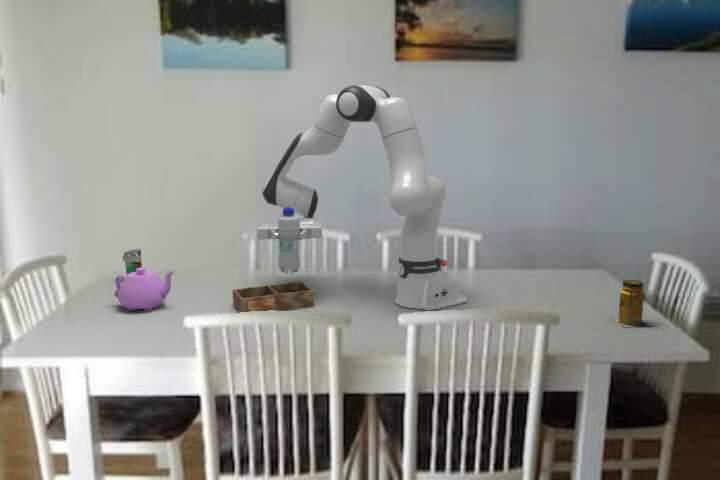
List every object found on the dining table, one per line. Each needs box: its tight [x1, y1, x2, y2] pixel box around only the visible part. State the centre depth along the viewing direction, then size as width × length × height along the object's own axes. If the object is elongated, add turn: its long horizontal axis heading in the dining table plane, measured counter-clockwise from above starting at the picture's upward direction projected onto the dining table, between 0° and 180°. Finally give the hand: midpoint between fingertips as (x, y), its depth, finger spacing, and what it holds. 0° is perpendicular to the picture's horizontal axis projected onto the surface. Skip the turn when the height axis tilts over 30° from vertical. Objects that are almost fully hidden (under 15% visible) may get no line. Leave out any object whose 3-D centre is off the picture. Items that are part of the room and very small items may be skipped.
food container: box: [121, 248, 143, 275], centre depth 231 cm, size 12×6×10 cm, turn 17°
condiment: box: [613, 279, 654, 328], centre depth 183 cm, size 7×8×12 cm
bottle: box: [277, 207, 300, 274], centre depth 200 cm, size 7×7×20 cm
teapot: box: [114, 267, 176, 312], centre depth 200 cm, size 20×14×12 cm
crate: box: [232, 281, 315, 313], centre depth 201 cm, size 22×12×5 cm, turn 113°
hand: (288, 236), depth 199 cm, fingers closed on bottle, 6 cm apart
